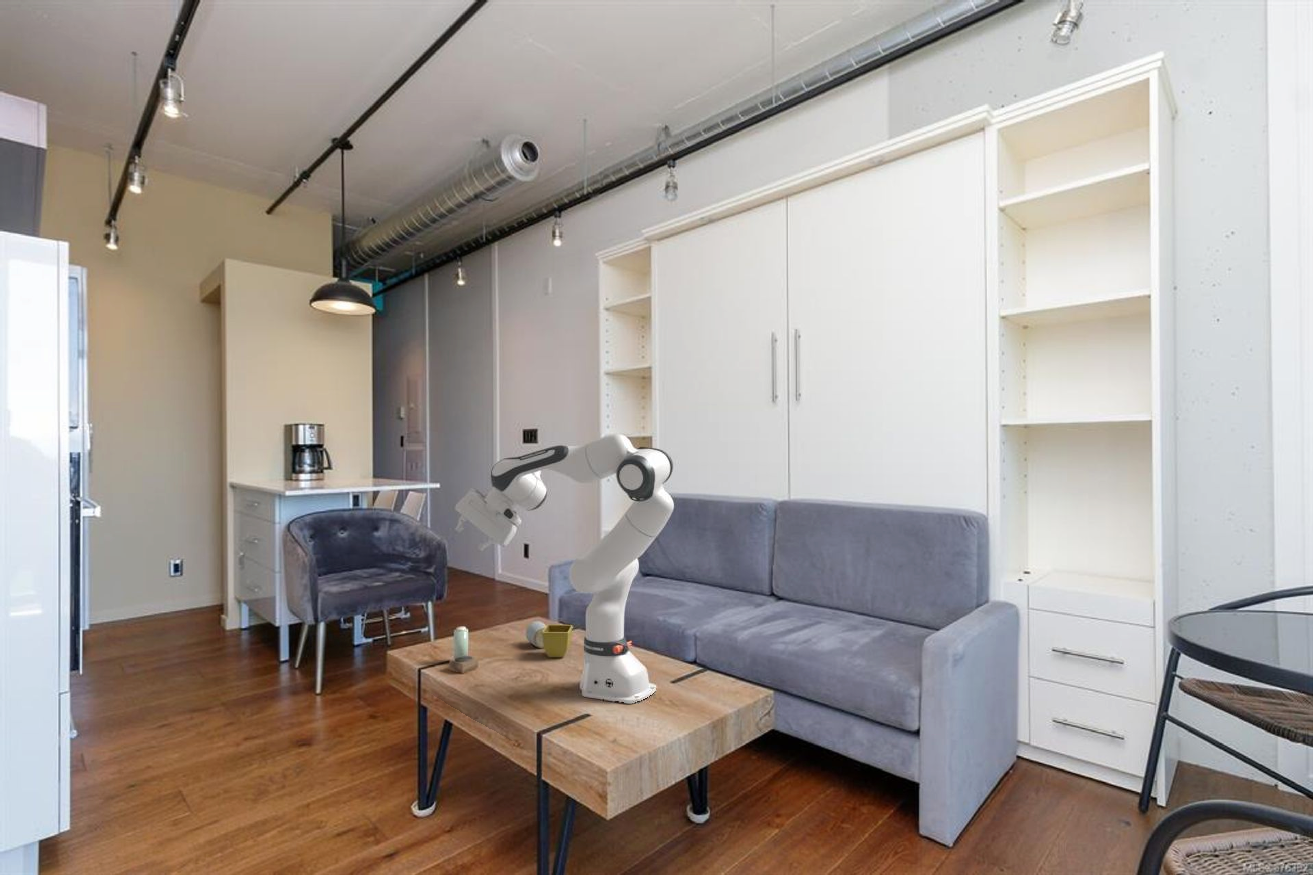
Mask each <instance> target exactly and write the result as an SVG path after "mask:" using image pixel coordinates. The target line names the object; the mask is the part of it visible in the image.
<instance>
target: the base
mask: <svg viewBox="0 0 1313 875" xmlns="http://www.w3.org/2000/svg"><path fill="white" fill-rule="evenodd" d="M448 667H449V669H450V670H449V669H448V670H449V671H451V670H453V671H452V672H454V671H457V672H456V673H458V672H460V673H459V674H462V673H463V674H466V673H468V672H467V671H469V672H471V670H472V671H474V670H476V668H477V669H479V658H477V657H473V656H469V655H468V656H466V655H464V656H461V657H458V658H455V659H454V658H453V659H450V660H449V666H448ZM473 669H474V670H473ZM465 672H466V673H465Z"/></svg>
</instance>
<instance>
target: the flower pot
mask: <svg viewBox="0 0 1313 875" xmlns="http://www.w3.org/2000/svg"><path fill="white" fill-rule="evenodd" d="M572 633H573V625H572V624H547V625H546V627H545V629H544V630H543V632H542V636H543V645H544V648H543V649H544V653H545V654H546V655H547V657H548V658H561V657H562V658H565V655H566V654H567V652H568V650H569V647H570V644H571V640H572Z"/></svg>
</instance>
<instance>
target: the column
mask: <svg viewBox="0 0 1313 875" xmlns="http://www.w3.org/2000/svg"><path fill="white" fill-rule="evenodd" d="M464 655H466V656H469V629H468V628H467V627H466V626H458V627H456V629H454V630H453V659H455V658H458V657H461V656H464Z"/></svg>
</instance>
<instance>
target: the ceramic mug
mask: <svg viewBox="0 0 1313 875" xmlns="http://www.w3.org/2000/svg"><path fill="white" fill-rule="evenodd" d="M546 626H547V625H546V624H545V623H544V622H543V621H540V620H539V621H537V620H536V621H534V622H532V623H530V624H529V625H528V627H526V632H525V636H526V639H527V641H528V642H530V643H531V644H532V645H534V646H535V647H536V648H539V649H544V645H543V636H542V632H543V630H544V629H545V627H546Z"/></svg>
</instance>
